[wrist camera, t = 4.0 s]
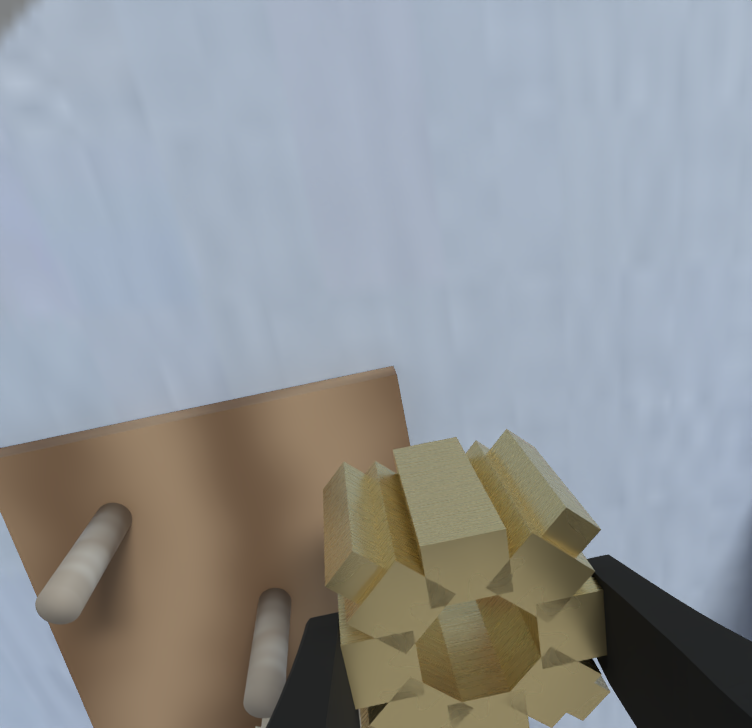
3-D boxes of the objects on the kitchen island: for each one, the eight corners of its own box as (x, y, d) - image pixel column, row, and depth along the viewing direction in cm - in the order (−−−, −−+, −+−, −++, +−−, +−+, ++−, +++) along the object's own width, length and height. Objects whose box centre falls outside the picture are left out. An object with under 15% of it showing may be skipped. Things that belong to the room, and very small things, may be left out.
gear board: (393, 365, 21) (417, 425, 15) (478, 813, 27) (515, 962, 22) (-5, 449, 20) (-119, 539, 15) (177, 884, 27) (142, 1054, 21)
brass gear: (529, 420, 15) (604, 506, 11) (545, 595, 16) (616, 722, 12) (317, 462, 14) (318, 565, 11) (356, 635, 16) (369, 777, 12)
